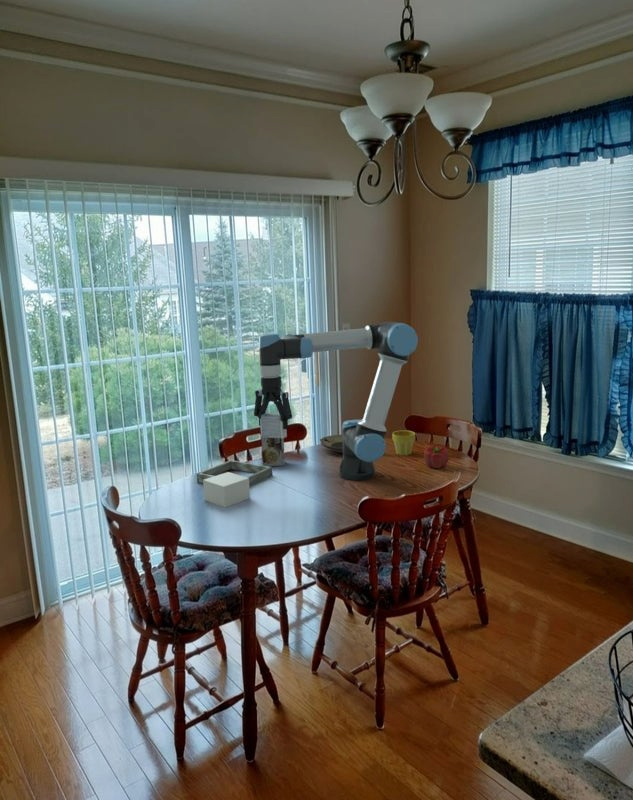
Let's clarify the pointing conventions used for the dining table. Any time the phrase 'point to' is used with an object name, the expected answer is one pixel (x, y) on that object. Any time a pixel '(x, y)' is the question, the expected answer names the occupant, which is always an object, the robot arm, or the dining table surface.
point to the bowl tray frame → (259, 470)
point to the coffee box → (273, 451)
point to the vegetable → (436, 456)
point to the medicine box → (271, 425)
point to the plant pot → (403, 441)
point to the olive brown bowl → (333, 443)
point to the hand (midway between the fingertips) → (273, 436)
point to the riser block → (226, 489)
